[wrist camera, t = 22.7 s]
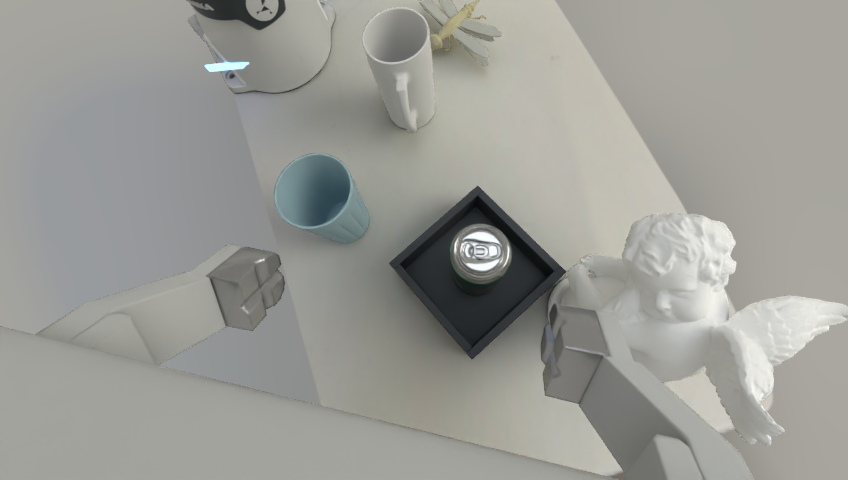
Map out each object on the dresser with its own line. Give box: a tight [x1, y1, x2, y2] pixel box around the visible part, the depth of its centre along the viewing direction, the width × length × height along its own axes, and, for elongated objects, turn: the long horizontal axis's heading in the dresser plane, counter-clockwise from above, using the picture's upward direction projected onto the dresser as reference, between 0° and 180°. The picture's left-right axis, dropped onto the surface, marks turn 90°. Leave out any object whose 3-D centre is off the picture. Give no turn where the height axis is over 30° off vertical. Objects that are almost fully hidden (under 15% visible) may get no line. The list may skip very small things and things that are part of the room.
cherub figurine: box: [547, 213, 848, 445], centre depth 26 cm, size 12×12×22 cm
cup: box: [274, 153, 369, 243], centre depth 37 cm, size 8×8×10 cm
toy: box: [419, 0, 502, 67], centre depth 45 cm, size 15×9×5 cm, turn 39°
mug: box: [362, 7, 436, 133], centre depth 39 cm, size 10×7×12 cm, turn 4°
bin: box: [389, 186, 566, 359], centre depth 37 cm, size 13×13×4 cm
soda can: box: [449, 224, 512, 296], centre depth 33 cm, size 5×5×12 cm
